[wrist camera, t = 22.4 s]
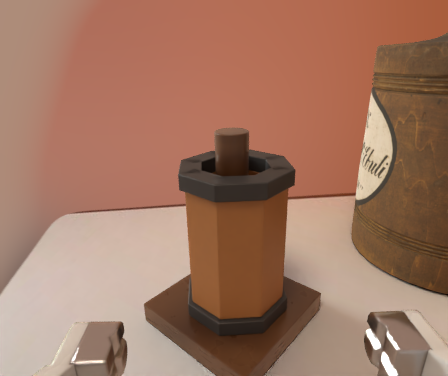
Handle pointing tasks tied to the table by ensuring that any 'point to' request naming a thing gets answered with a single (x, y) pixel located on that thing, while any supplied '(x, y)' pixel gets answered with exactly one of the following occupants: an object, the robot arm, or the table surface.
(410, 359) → the robot arm
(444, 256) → the wooden container
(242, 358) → the stand
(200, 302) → the orange-brown octagonal tube
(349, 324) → the table surface
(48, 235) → the table surface
